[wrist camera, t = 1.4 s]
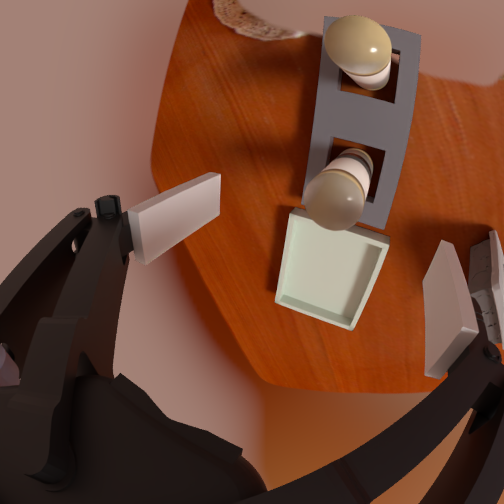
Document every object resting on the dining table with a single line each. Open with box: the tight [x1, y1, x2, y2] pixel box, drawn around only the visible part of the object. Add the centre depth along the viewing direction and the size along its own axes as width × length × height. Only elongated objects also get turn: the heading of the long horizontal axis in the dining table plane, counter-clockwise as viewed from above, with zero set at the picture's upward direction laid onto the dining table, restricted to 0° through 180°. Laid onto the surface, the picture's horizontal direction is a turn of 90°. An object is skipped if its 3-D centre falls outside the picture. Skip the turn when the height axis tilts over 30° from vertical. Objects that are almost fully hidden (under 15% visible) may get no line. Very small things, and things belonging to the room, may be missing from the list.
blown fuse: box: [304, 148, 373, 231], centre depth 21 cm, size 4×4×12 cm
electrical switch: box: [468, 230, 504, 349], centre depth 19 cm, size 9×5×9 cm, turn 45°
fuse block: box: [301, 16, 421, 230], centre depth 22 cm, size 20×9×2 cm, turn 177°
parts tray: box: [275, 207, 390, 331], centre depth 32 cm, size 13×11×2 cm
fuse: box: [324, 15, 392, 91], centre depth 15 cm, size 4×4×12 cm
